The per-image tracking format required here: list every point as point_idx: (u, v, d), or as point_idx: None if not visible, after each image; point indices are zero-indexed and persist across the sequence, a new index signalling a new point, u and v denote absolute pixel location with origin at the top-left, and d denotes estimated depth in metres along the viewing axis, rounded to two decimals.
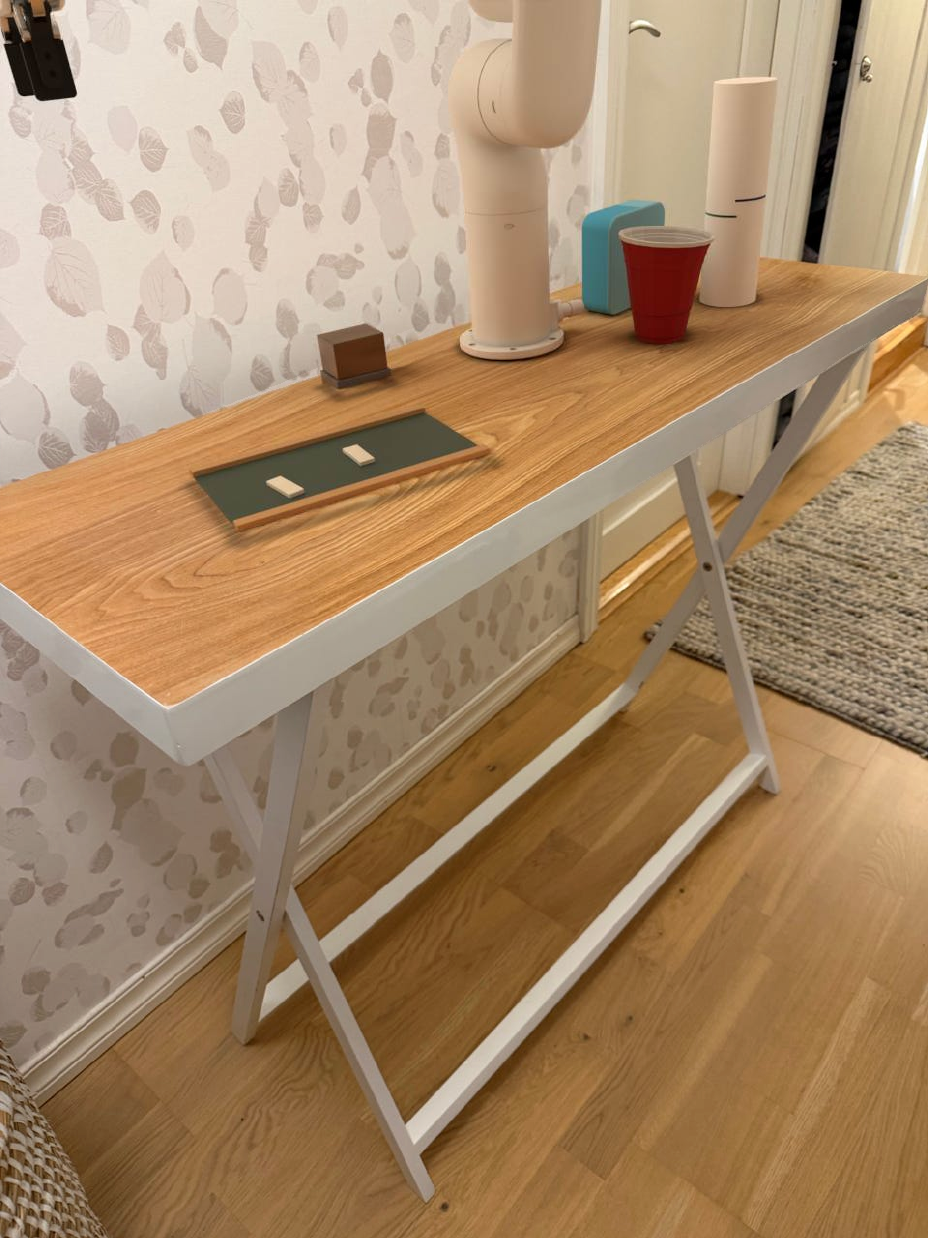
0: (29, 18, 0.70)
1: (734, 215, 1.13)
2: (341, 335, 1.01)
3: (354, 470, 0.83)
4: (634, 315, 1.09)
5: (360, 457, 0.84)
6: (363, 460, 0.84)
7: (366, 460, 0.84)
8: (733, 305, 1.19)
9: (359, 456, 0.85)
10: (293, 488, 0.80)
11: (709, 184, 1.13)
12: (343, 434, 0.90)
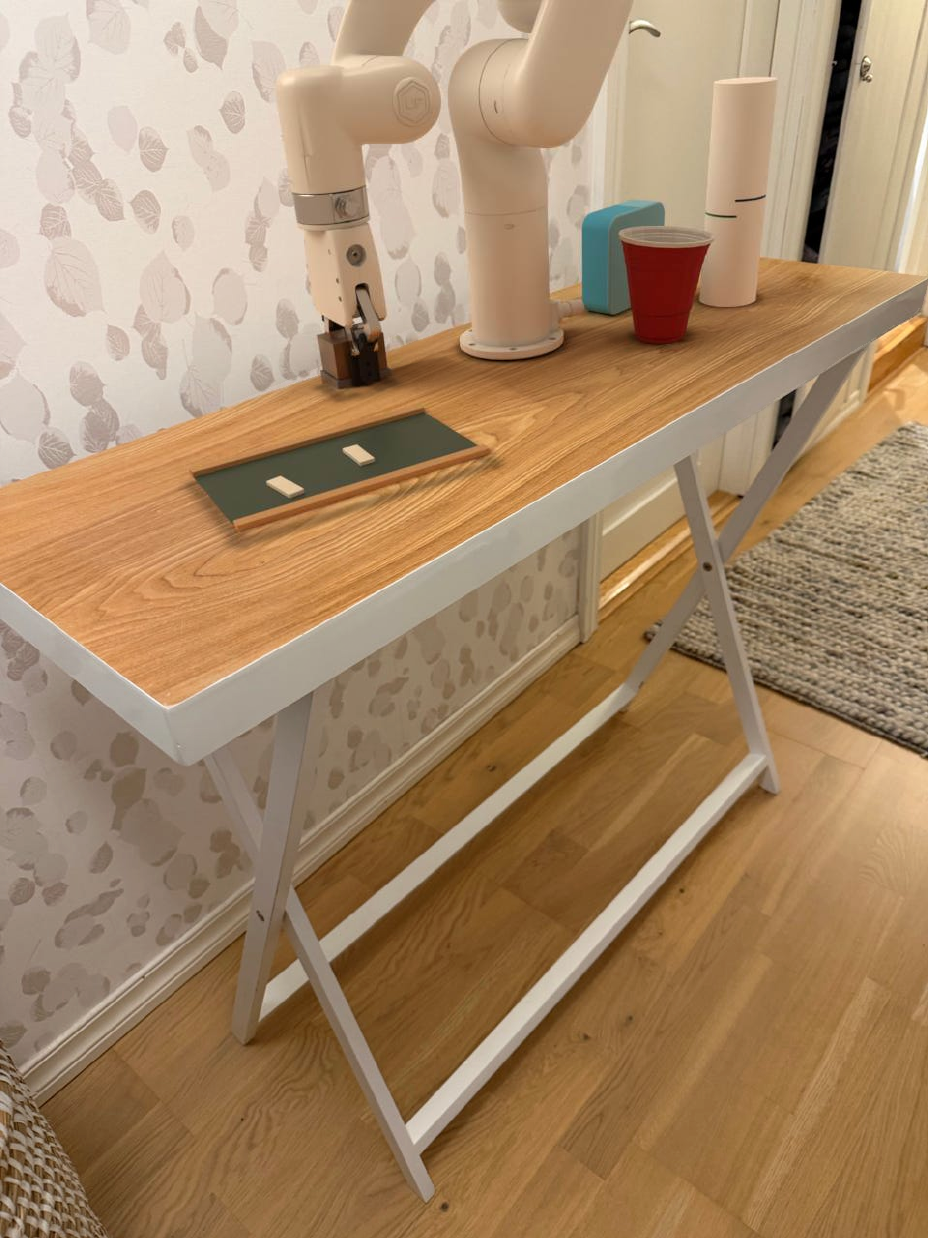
0: (363, 345, 0.97)
1: (734, 215, 1.13)
2: (341, 335, 1.01)
3: (354, 470, 0.83)
4: (634, 315, 1.09)
5: (360, 457, 0.84)
6: (363, 460, 0.84)
7: (366, 460, 0.84)
8: (733, 305, 1.19)
9: (359, 456, 0.85)
10: (293, 488, 0.80)
11: (709, 184, 1.13)
12: (343, 434, 0.90)
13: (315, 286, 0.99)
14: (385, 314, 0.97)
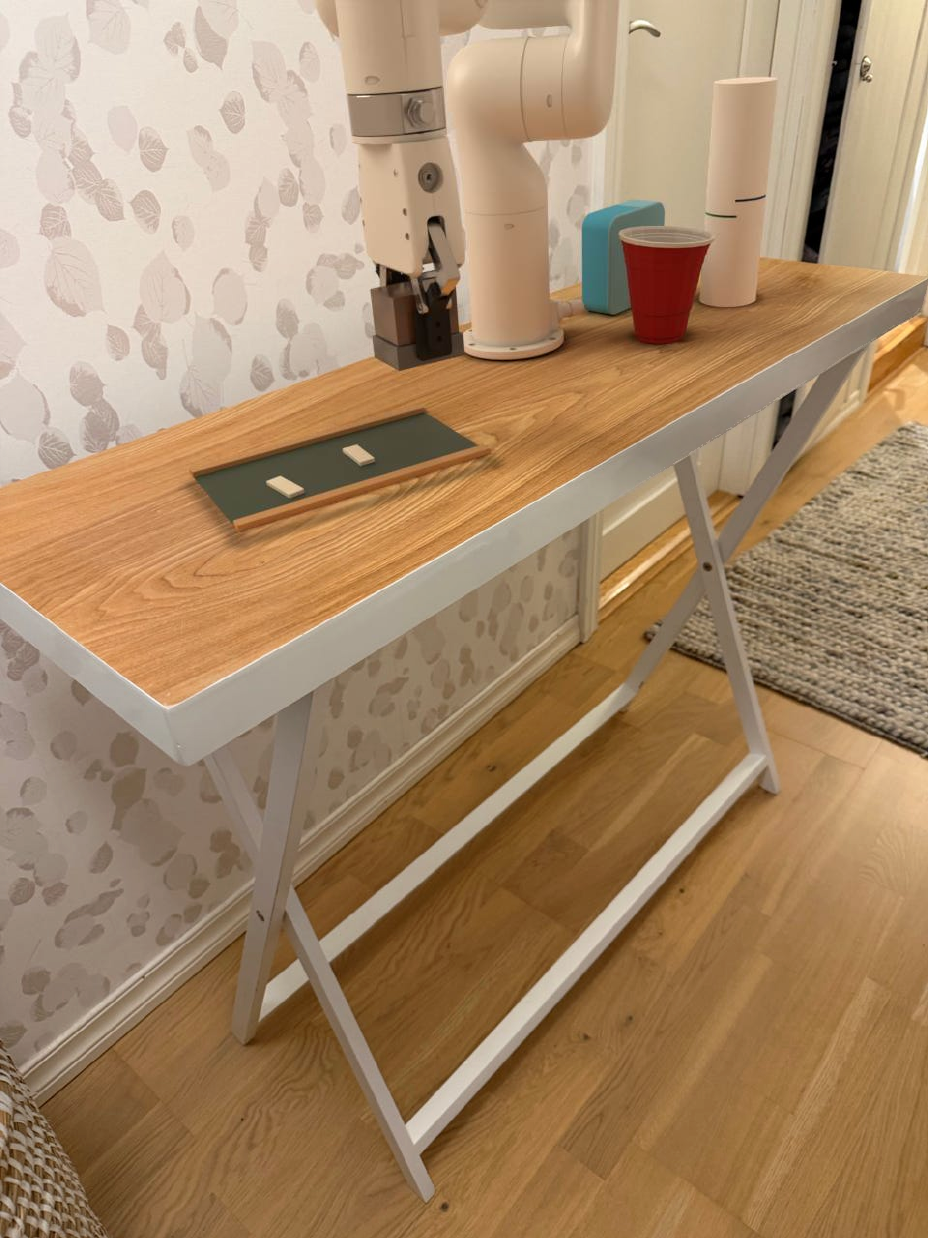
0: (435, 298, 0.75)
1: (734, 215, 1.13)
2: (402, 288, 0.79)
3: (354, 470, 0.83)
4: (634, 315, 1.09)
5: (360, 457, 0.84)
6: (363, 460, 0.84)
7: (366, 460, 0.84)
8: (733, 305, 1.19)
9: (359, 456, 0.85)
10: (293, 488, 0.80)
11: (709, 184, 1.13)
12: (343, 434, 0.90)
13: (371, 225, 0.77)
14: (463, 259, 0.75)
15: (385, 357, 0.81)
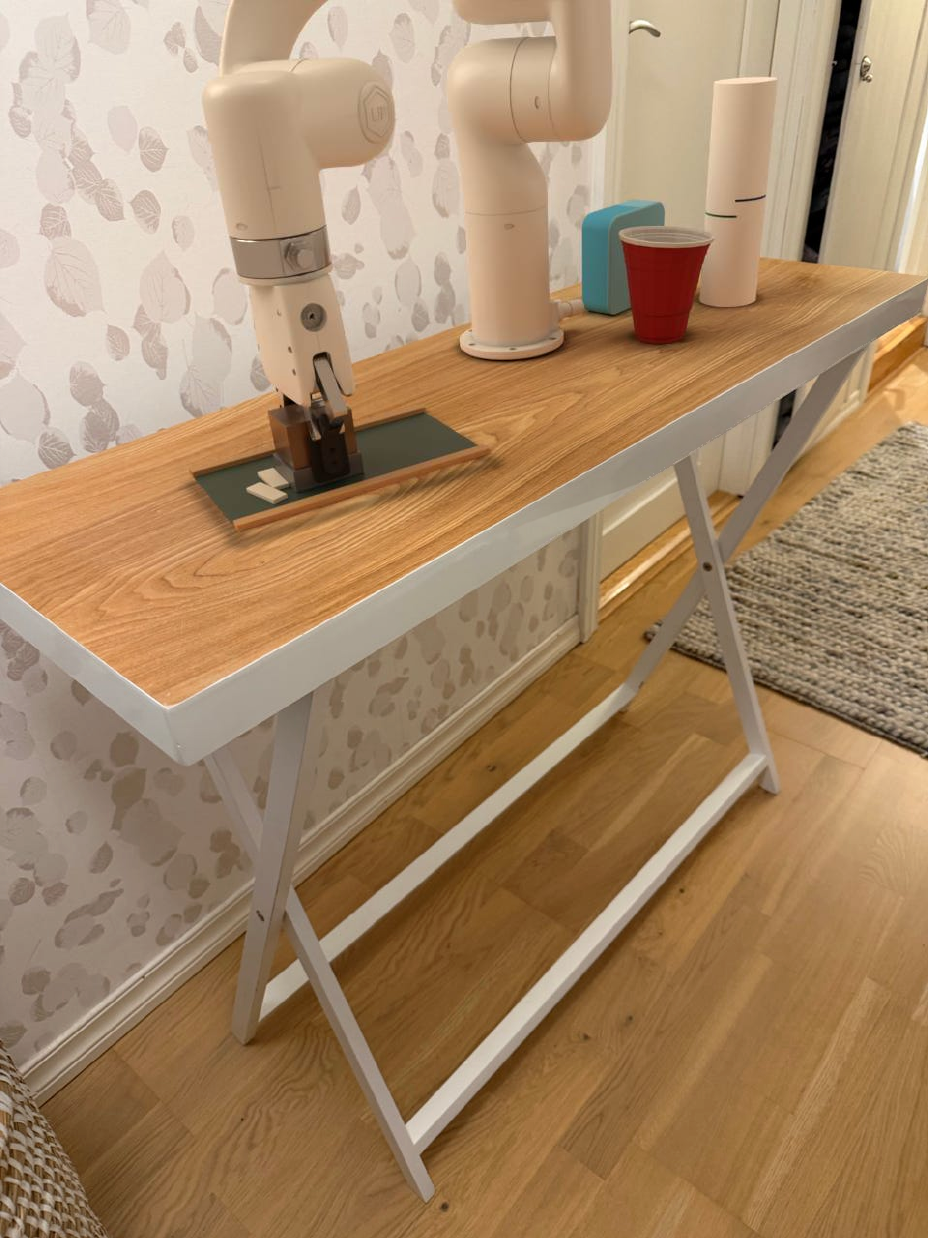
0: (325, 429, 0.76)
1: (734, 215, 1.13)
2: (298, 412, 0.79)
3: None
4: (634, 315, 1.09)
5: (274, 481, 0.81)
6: (277, 485, 0.81)
7: (280, 485, 0.81)
8: (733, 305, 1.19)
9: (273, 481, 0.82)
10: (276, 494, 0.79)
11: (709, 184, 1.13)
12: None
13: (264, 352, 0.78)
14: (353, 389, 0.76)
15: (284, 477, 0.82)
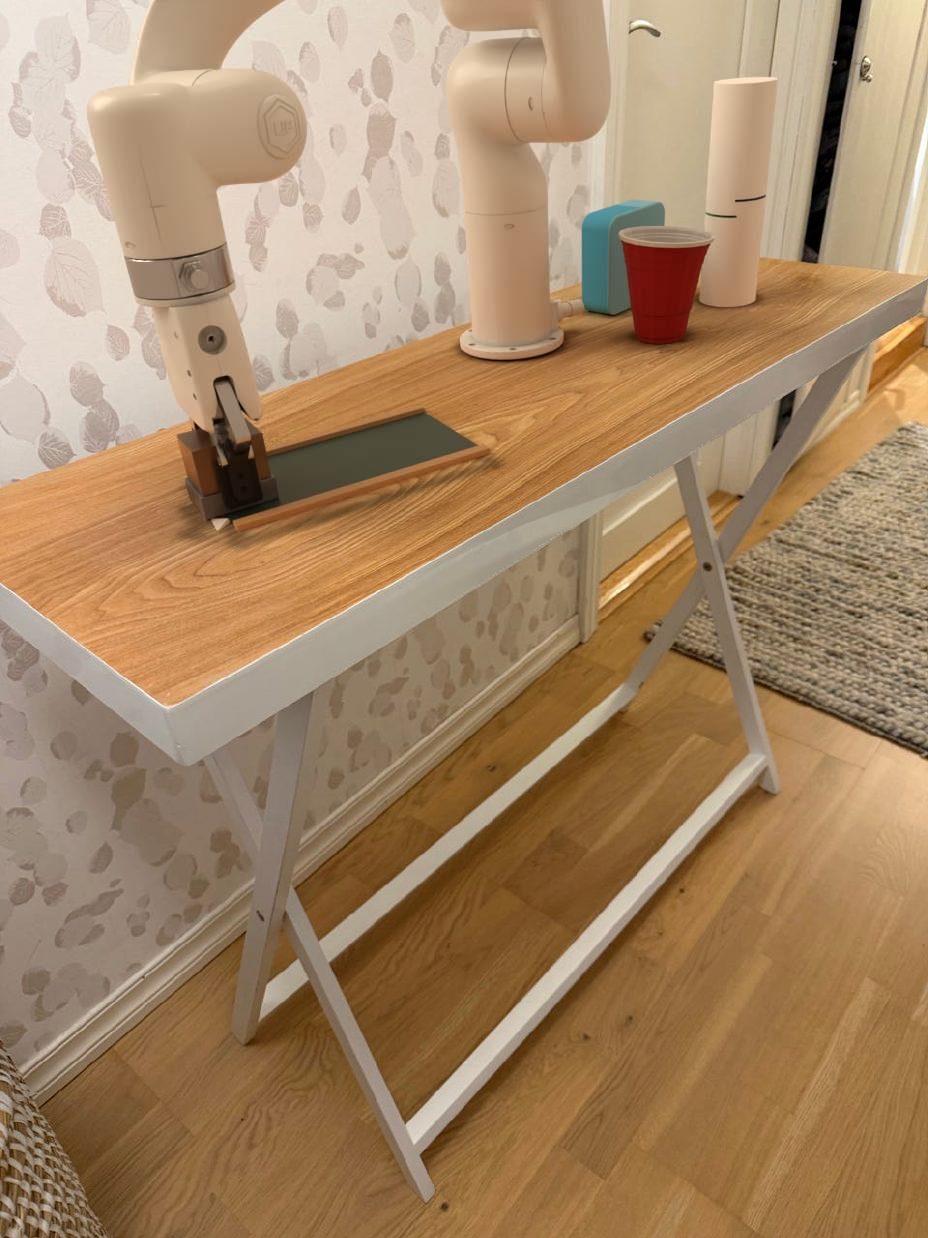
0: (230, 455, 0.73)
1: (734, 215, 1.13)
2: (207, 436, 0.76)
3: (354, 470, 0.83)
4: (634, 315, 1.09)
5: None
6: None
7: None
8: (733, 305, 1.19)
9: None
10: (217, 523, 0.76)
11: (709, 184, 1.13)
12: (343, 434, 0.90)
13: (170, 374, 0.74)
14: (260, 413, 0.73)
15: (195, 502, 0.79)
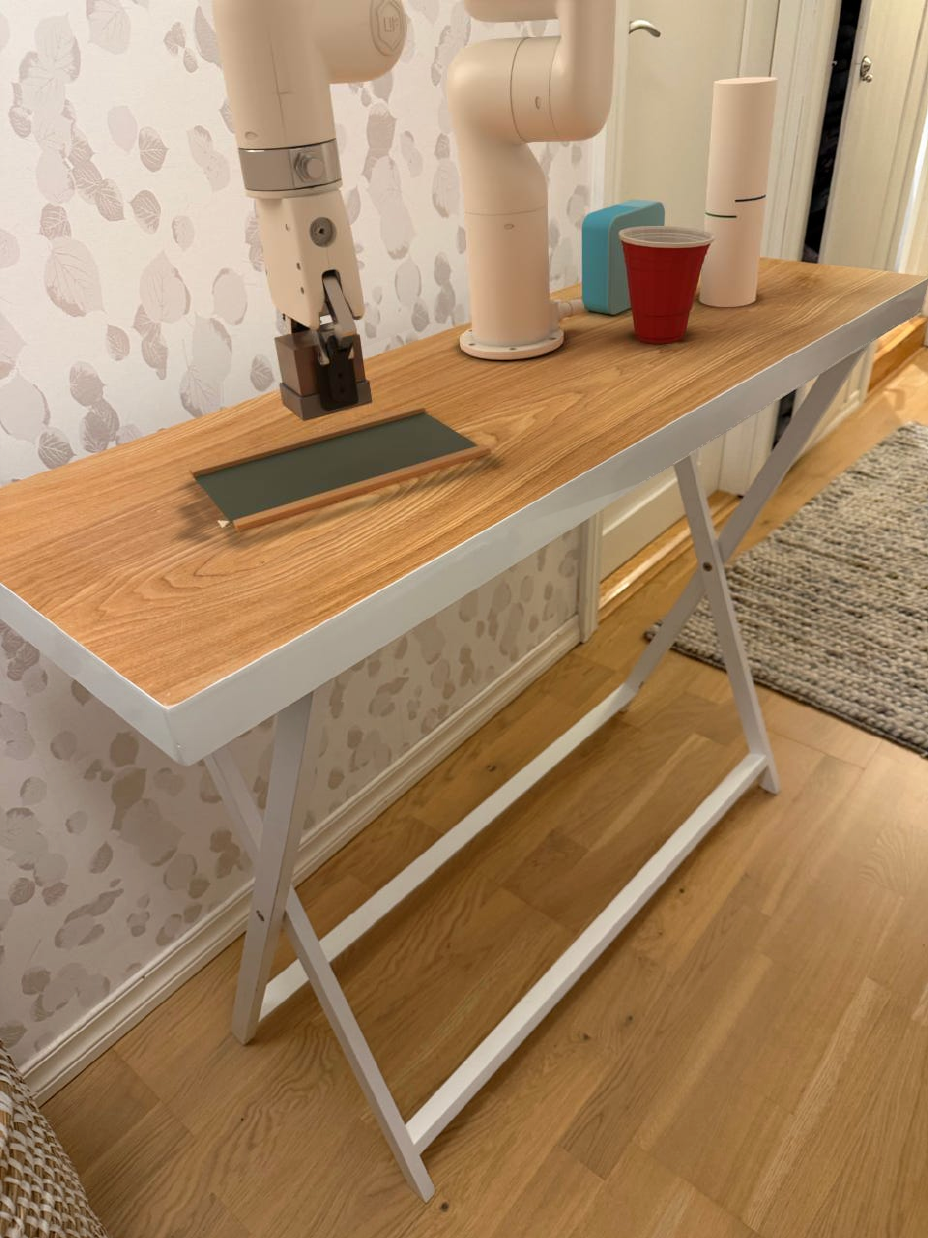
0: (334, 351, 0.74)
1: (734, 215, 1.13)
2: (305, 338, 0.78)
3: (354, 470, 0.83)
4: (634, 315, 1.09)
5: None
6: None
7: None
8: (733, 305, 1.19)
9: None
10: None
11: (709, 184, 1.13)
12: (343, 434, 0.90)
13: (272, 275, 0.76)
14: (363, 311, 0.74)
15: (291, 406, 0.80)
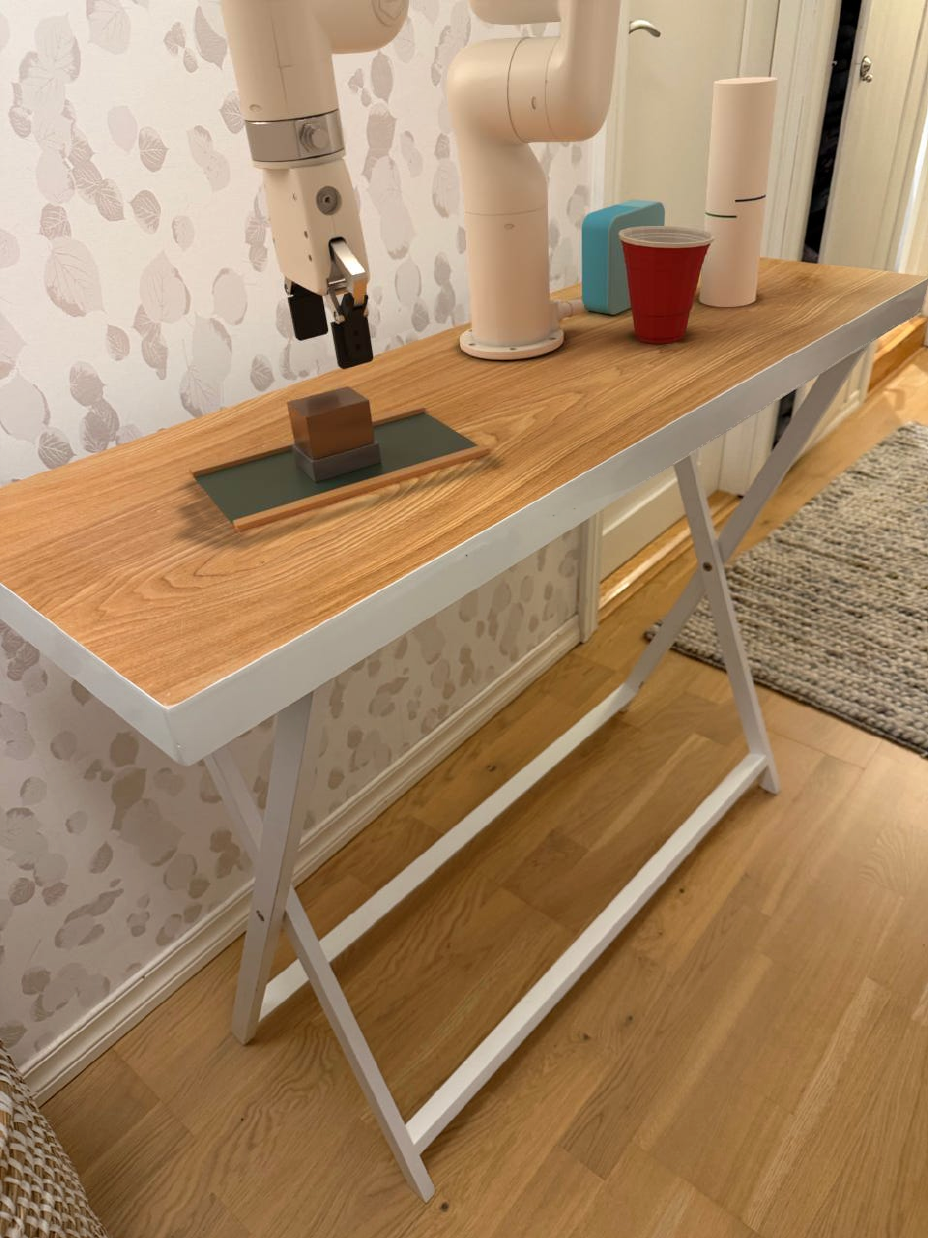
0: (349, 309, 0.75)
1: (734, 215, 1.13)
2: (317, 402, 0.81)
3: None
4: (634, 315, 1.09)
5: None
6: None
7: None
8: (733, 305, 1.19)
9: None
10: None
11: (709, 184, 1.13)
12: None
13: (280, 243, 0.79)
14: (368, 277, 0.77)
15: (303, 467, 0.83)
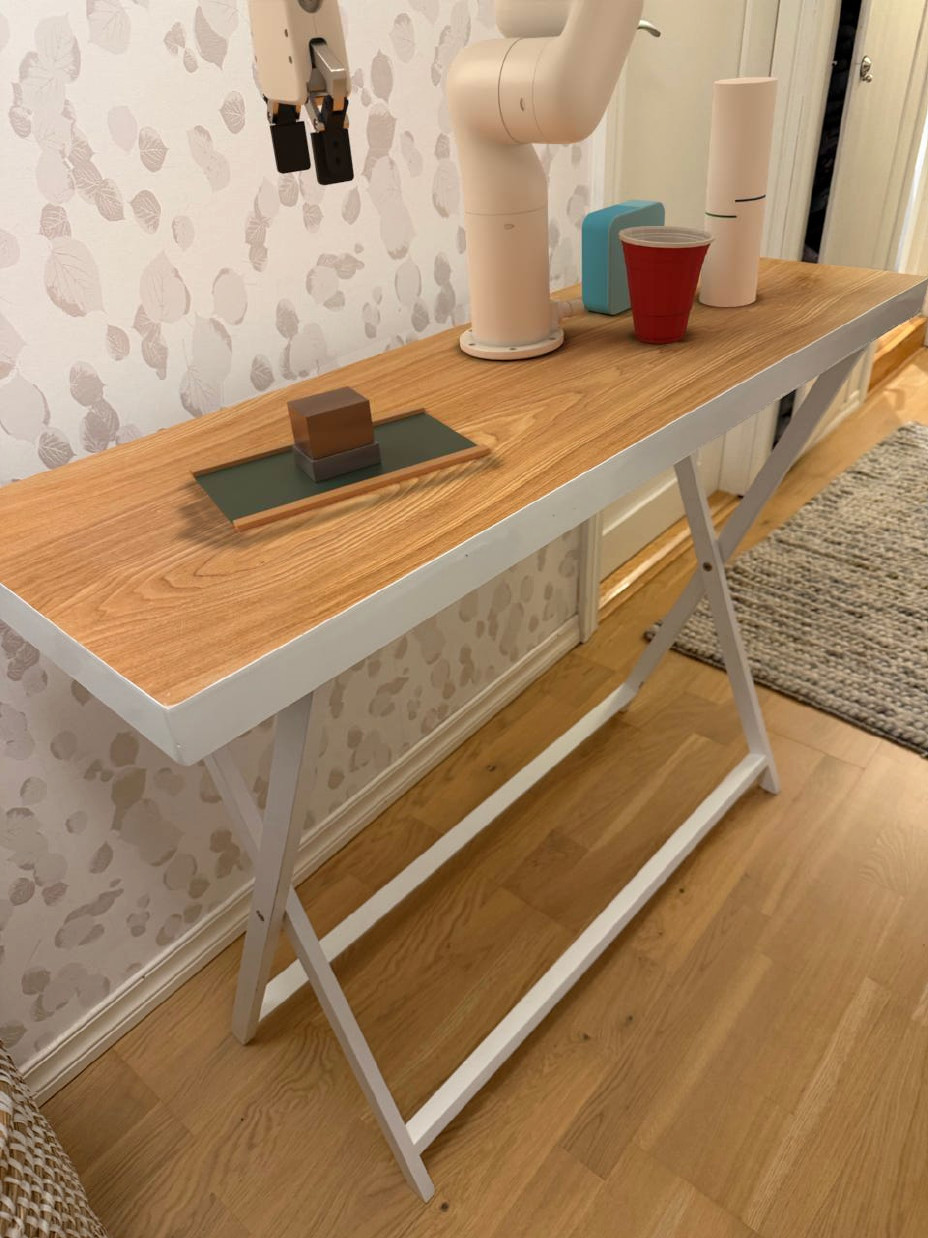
0: (329, 112, 0.74)
1: (734, 215, 1.13)
2: (317, 402, 0.81)
3: None
4: (634, 315, 1.09)
5: None
6: None
7: None
8: (733, 305, 1.19)
9: None
10: None
11: (709, 184, 1.13)
12: None
13: (261, 57, 0.78)
14: (349, 87, 0.76)
15: (303, 467, 0.83)
